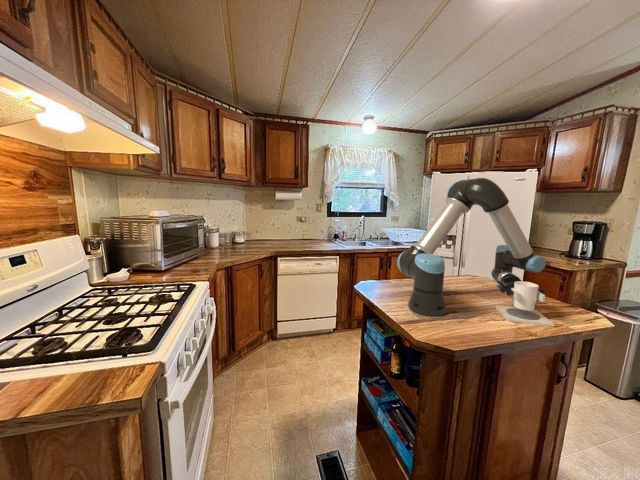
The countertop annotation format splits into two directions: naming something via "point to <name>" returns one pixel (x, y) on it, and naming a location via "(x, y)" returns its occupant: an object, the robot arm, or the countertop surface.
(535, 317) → the trivet
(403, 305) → the countertop surface
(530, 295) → the white cup
